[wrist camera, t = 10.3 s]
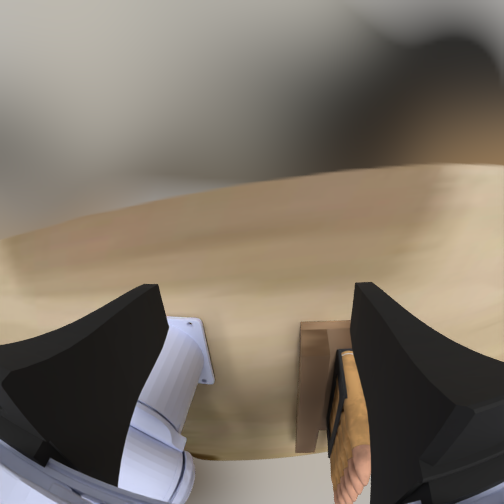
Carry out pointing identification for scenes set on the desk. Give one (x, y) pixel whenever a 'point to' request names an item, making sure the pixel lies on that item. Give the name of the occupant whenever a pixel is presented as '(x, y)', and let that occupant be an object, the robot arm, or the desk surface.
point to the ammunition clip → (348, 431)
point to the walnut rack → (317, 377)
